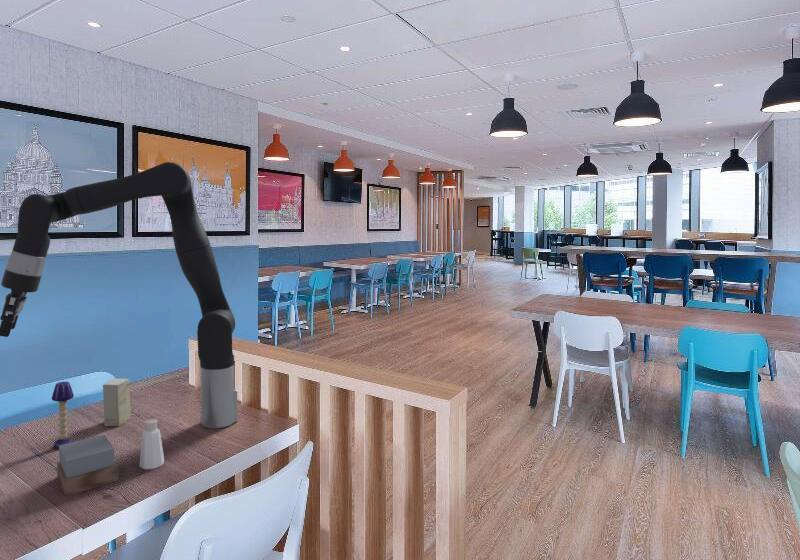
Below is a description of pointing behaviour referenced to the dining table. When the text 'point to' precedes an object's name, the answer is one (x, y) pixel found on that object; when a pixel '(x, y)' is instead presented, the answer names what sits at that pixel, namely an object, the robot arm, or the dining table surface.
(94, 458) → the grey top block
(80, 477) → the walnut base block
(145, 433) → the pepper shaker
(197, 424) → the dining table surface
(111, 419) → the skincare box
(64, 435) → the toy lamp
